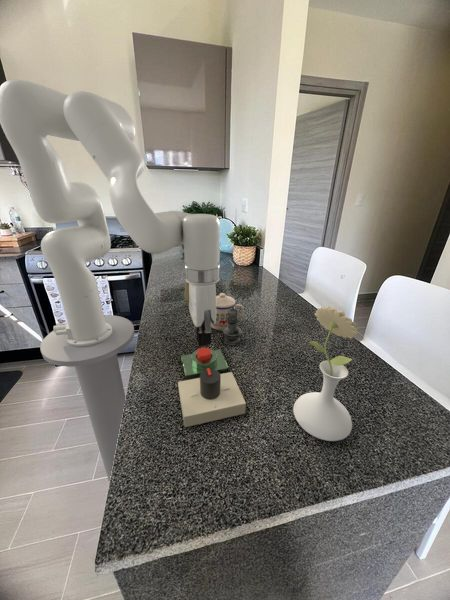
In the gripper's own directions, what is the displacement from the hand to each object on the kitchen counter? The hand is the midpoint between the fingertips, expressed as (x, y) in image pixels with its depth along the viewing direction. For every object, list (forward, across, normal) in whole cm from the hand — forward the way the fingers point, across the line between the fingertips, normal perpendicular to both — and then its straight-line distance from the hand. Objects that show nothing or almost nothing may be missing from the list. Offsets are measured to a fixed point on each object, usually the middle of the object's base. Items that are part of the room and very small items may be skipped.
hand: (203, 342), depth 63 cm
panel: (+8, +12, -1) cm, 14 cm away
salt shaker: (+8, -10, +11) cm, 17 cm away
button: (+5, 0, 0) cm, 5 cm away
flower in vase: (+8, +22, +20) cm, 31 cm away
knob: (+5, +12, -1) cm, 13 cm away
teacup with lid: (+8, -20, +12) cm, 25 cm away
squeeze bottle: (+8, -38, +4) cm, 39 cm away
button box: (+8, 0, 0) cm, 8 cm away
